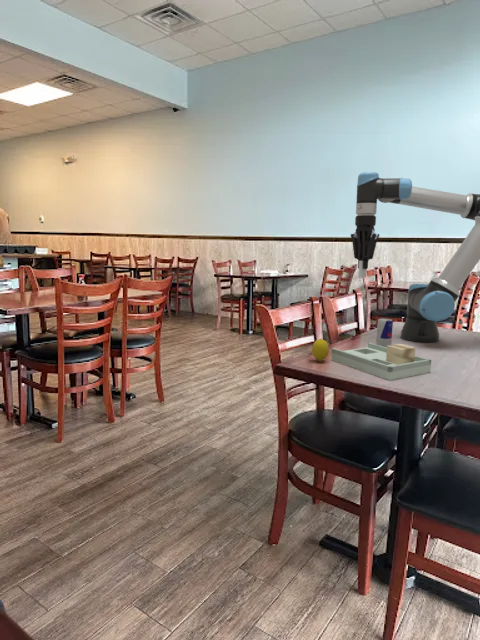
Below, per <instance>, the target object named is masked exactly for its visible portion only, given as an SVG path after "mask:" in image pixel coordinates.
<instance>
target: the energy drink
mask: <svg viewBox="0 0 480 640" xmlns="http://www.w3.org/2000/svg"><path fill="white" fill-rule="evenodd" d="M393 324H394V321H393V319H389V318H378V320H377V325H376V326H377V327H376V338H375V339H376V340H375V344H376V345H379V346H383V347H386V348H387V346H388V345H392V339H393V338H392V337H393V327H394V325H393Z"/></svg>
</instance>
